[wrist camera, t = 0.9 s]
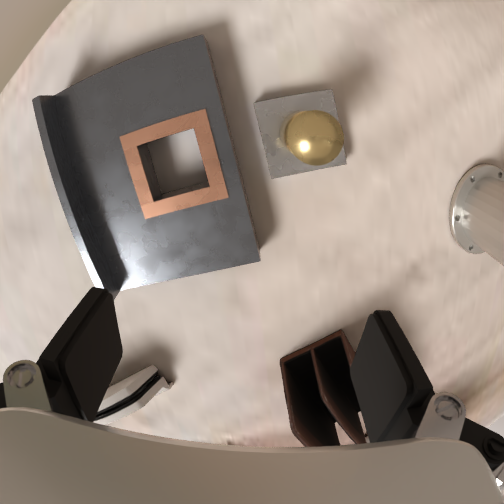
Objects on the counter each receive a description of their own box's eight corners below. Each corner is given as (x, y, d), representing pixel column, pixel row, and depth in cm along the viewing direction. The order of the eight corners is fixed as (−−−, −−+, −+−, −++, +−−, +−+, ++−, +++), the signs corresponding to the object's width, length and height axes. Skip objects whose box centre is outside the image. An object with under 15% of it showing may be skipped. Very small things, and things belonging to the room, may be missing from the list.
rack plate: (207, 41, 27) (198, 26, 21) (259, 249, 36) (261, 274, 31) (61, 99, 28) (32, 99, 23) (121, 279, 38) (104, 305, 33)
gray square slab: (328, 90, 29) (332, 89, 28) (342, 162, 32) (346, 164, 31) (253, 103, 30) (253, 102, 28) (270, 176, 33) (271, 179, 32)
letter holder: (330, 418, 51) (343, 483, 38) (278, 357, 44) (286, 439, 31) (379, 396, 49) (402, 459, 36) (341, 327, 42) (369, 405, 29)
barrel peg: (319, 107, 28) (338, 106, 22) (327, 150, 30) (348, 160, 24) (275, 115, 29) (282, 115, 23) (284, 159, 31) (294, 170, 24)
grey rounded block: (115, 409, 50) (86, 438, 40) (100, 389, 50) (69, 416, 40) (175, 383, 46) (147, 417, 36) (158, 359, 46) (125, 390, 36)
